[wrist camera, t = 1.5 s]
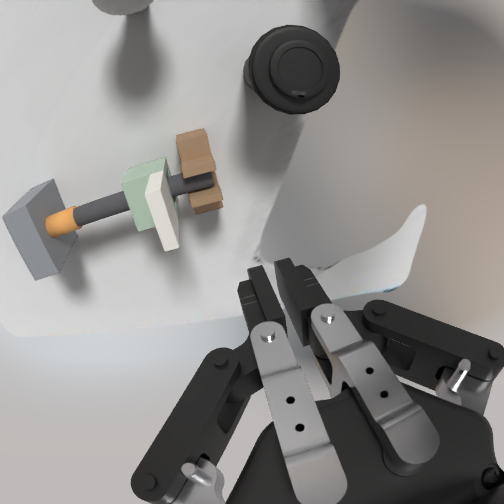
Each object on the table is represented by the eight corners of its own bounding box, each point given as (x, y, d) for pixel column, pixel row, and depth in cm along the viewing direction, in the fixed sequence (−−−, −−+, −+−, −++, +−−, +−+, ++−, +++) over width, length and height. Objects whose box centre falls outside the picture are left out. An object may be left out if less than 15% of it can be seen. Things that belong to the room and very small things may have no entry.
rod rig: (203, 128, 30) (210, 141, 24) (218, 193, 35) (229, 223, 28) (27, 190, 28) (-3, 219, 22) (51, 245, 33) (30, 282, 26)
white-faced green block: (165, 156, 29) (160, 189, 21) (178, 200, 32) (179, 247, 23) (129, 168, 28) (109, 205, 20) (143, 210, 31) (132, 260, 23)
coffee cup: (253, 119, 31) (281, 133, 23) (216, 58, 27) (231, 47, 18) (314, 87, 30) (360, 93, 22) (281, 27, 26) (320, 10, 18)
